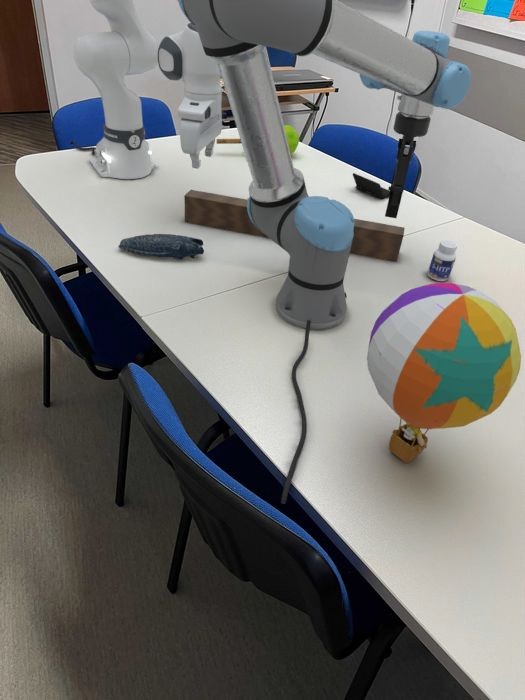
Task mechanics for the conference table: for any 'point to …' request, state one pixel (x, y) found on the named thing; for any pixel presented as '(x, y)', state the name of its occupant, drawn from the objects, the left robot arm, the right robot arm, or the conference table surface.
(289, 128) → the decorative tree
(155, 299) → the conference table surface
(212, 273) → the conference table surface
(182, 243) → the fish model
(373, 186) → the handheld gaming console
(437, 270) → the pill bottle
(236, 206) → the bar
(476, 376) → the toy
